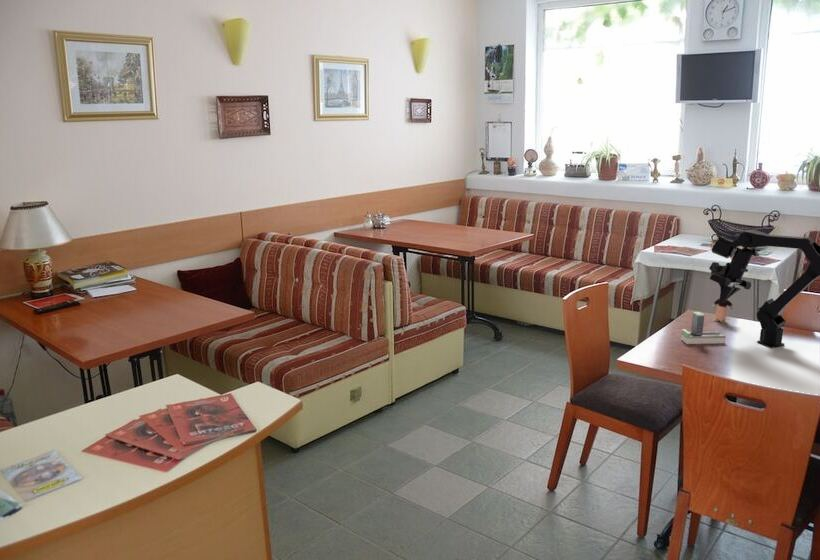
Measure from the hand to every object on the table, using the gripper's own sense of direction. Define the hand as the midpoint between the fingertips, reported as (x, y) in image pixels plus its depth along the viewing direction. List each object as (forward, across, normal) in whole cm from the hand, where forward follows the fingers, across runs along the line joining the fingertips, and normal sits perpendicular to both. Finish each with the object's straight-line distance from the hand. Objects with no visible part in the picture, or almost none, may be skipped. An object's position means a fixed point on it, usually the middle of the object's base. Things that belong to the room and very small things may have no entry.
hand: (721, 302), depth 256 cm
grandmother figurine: (+10, -20, -8) cm, 24 cm away
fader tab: (+13, +10, +3) cm, 17 cm away
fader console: (+14, +8, +4) cm, 17 cm away
